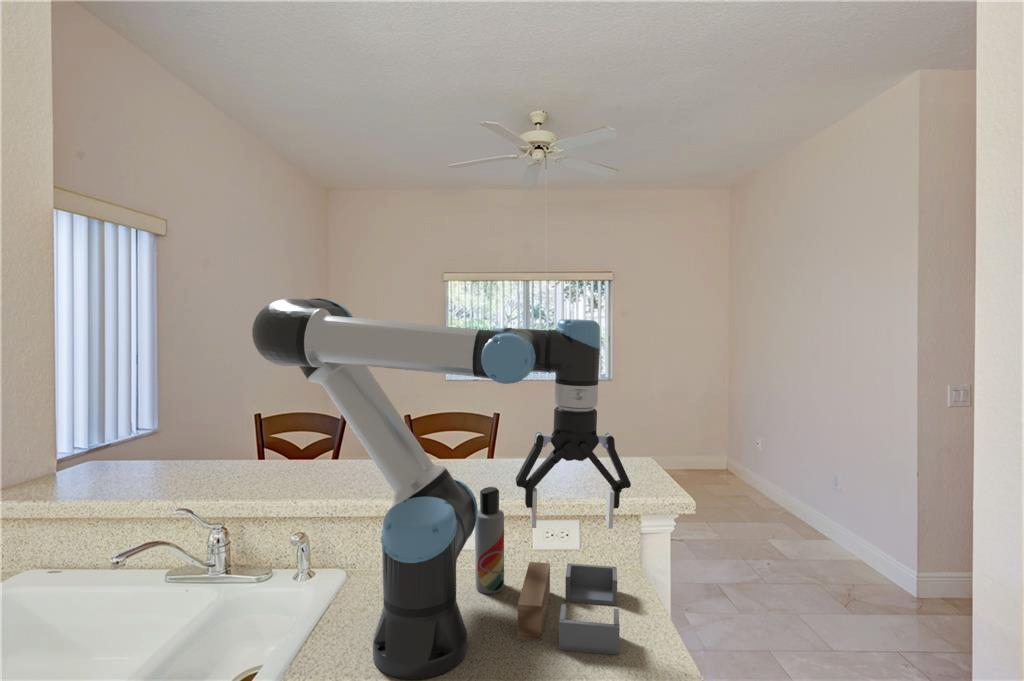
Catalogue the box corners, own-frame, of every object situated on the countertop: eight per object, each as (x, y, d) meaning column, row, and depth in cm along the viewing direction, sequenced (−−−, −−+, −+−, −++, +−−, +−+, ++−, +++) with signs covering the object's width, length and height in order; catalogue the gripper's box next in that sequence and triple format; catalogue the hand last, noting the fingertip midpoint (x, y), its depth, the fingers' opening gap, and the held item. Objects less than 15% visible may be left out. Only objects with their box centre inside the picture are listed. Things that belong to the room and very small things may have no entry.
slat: (517, 638, 96) (517, 604, 95) (529, 591, 112) (529, 561, 111) (541, 640, 95) (541, 606, 95) (549, 593, 111) (549, 563, 111)
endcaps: (559, 650, 92) (559, 622, 92) (567, 586, 113) (567, 563, 113) (619, 656, 91) (619, 627, 90) (616, 590, 111) (616, 566, 111)
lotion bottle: (500, 595, 109) (500, 494, 108) (472, 592, 111) (471, 492, 109) (506, 581, 115) (506, 484, 114) (479, 579, 116) (479, 483, 115)
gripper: (505, 410, 95) (502, 533, 97) (652, 412, 97) (646, 534, 98) (503, 402, 103) (500, 516, 104) (639, 404, 104) (634, 517, 106)
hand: (571, 525), depth 101 cm, fingers open, 13 cm apart
